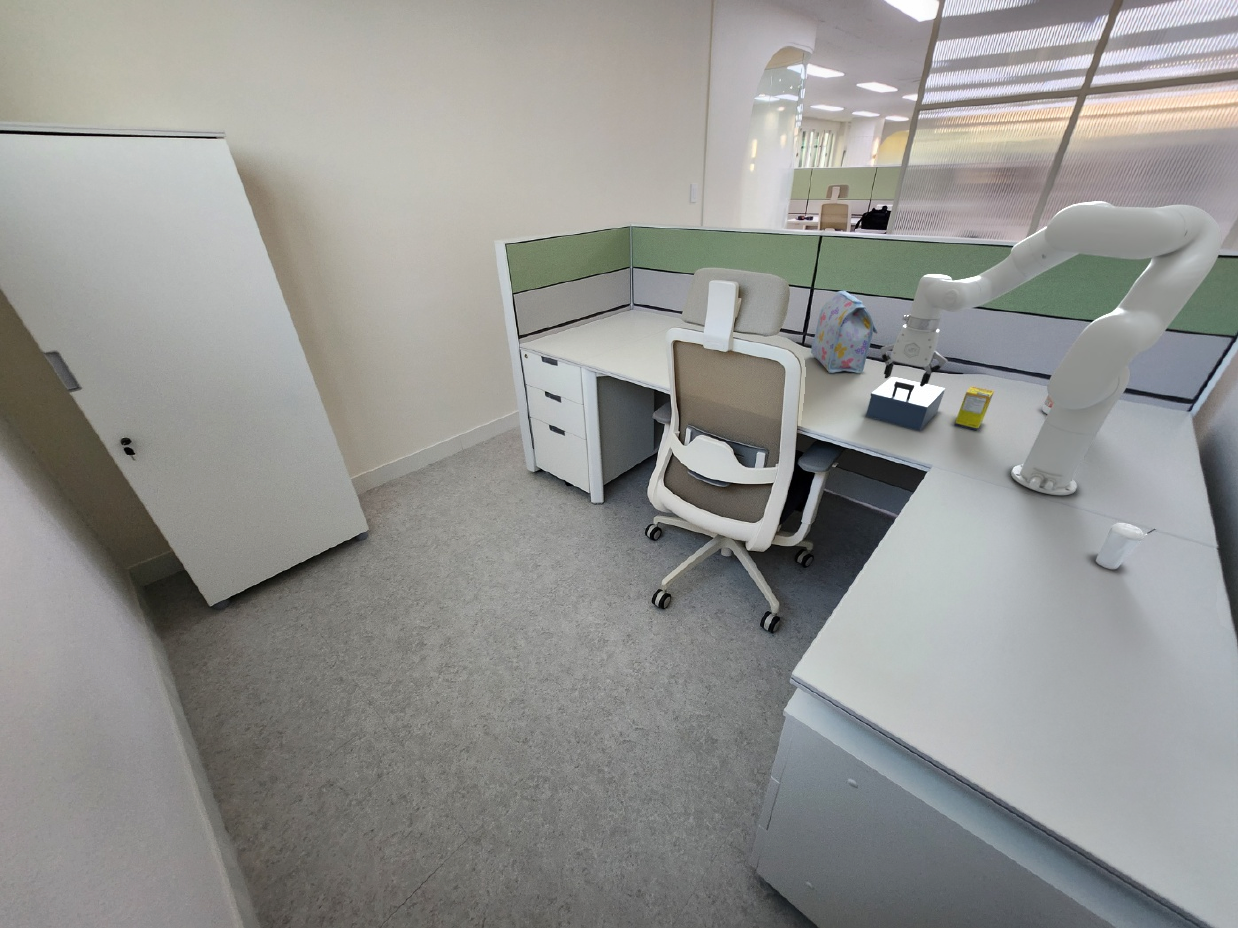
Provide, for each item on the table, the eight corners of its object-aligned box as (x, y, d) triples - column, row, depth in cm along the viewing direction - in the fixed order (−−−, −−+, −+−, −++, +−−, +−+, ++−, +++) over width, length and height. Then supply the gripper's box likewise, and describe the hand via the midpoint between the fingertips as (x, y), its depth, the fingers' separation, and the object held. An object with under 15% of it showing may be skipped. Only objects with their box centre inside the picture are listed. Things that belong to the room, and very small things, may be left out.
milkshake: (1130, 576, 90) (1159, 535, 85) (1093, 566, 93) (1119, 526, 88) (1124, 562, 94) (1153, 521, 88) (1089, 553, 96) (1114, 513, 91)
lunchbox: (919, 431, 142) (927, 408, 138) (865, 416, 151) (871, 395, 148) (937, 412, 152) (944, 390, 149) (885, 399, 162) (891, 379, 158)
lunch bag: (871, 374, 182) (889, 302, 168) (826, 375, 182) (841, 303, 169) (847, 355, 201) (862, 289, 187) (807, 355, 202) (819, 290, 188)
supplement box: (981, 424, 145) (994, 390, 139) (976, 431, 141) (990, 396, 135) (958, 418, 148) (971, 385, 143) (953, 425, 144) (966, 391, 139)
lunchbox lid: (926, 409, 138) (932, 392, 135) (870, 395, 147) (874, 379, 144) (944, 390, 149) (950, 374, 146) (891, 378, 158) (895, 363, 155)
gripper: (884, 320, 135) (869, 377, 144) (954, 332, 124) (933, 393, 133) (894, 314, 139) (878, 370, 148) (962, 325, 129) (941, 385, 138)
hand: (904, 381), depth 141 cm, fingers open, 9 cm apart
